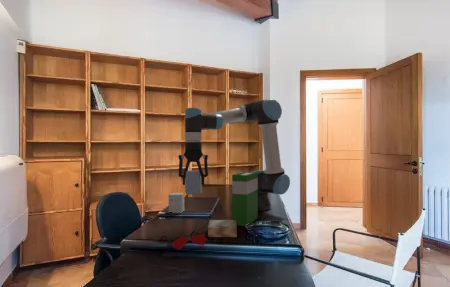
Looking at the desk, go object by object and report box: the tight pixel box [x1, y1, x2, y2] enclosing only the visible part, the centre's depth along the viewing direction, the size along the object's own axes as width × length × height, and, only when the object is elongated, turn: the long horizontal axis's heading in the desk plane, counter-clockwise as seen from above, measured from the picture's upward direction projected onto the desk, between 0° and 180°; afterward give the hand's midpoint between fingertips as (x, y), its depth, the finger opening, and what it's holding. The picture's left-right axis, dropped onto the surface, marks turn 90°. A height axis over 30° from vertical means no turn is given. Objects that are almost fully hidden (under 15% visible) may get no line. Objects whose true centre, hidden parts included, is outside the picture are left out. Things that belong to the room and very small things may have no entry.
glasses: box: [160, 230, 208, 251], centre depth 117 cm, size 14×16×5 cm
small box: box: [167, 192, 185, 214], centre depth 168 cm, size 8×6×10 cm
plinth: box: [207, 219, 238, 238], centre depth 129 cm, size 12×12×4 cm
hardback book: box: [231, 171, 258, 227], centre depth 148 cm, size 18×7×24 cm, turn 157°
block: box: [185, 170, 201, 195], centre depth 135 cm, size 6×6×10 cm
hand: (193, 192), depth 135 cm, fingers closed on block, 6 cm apart
